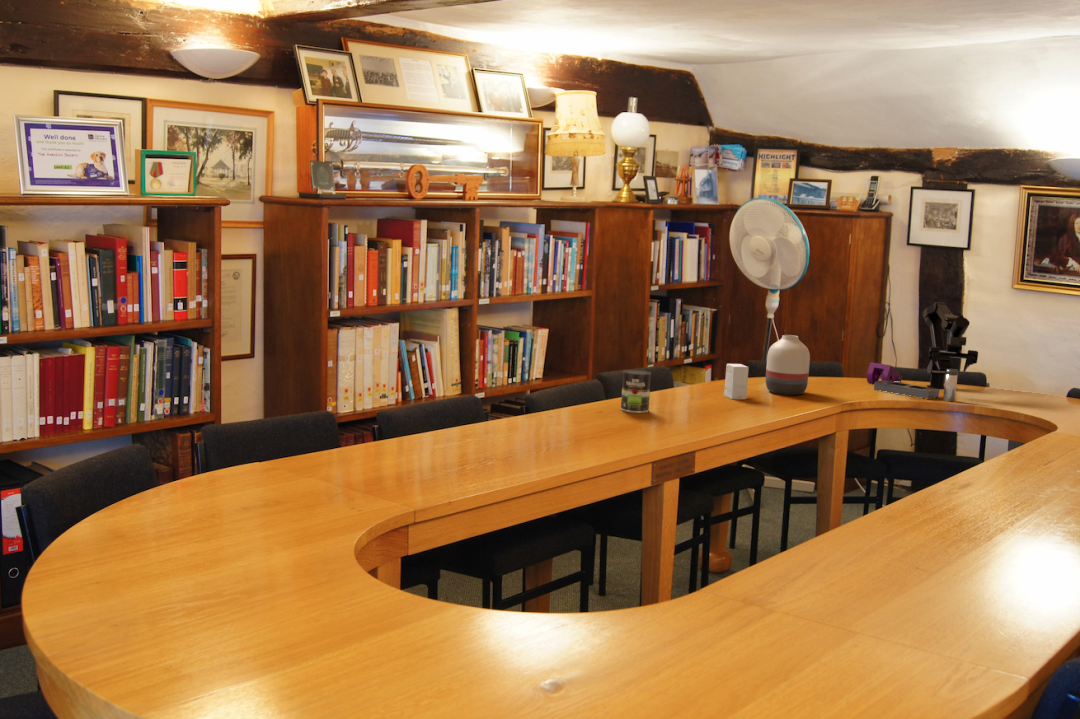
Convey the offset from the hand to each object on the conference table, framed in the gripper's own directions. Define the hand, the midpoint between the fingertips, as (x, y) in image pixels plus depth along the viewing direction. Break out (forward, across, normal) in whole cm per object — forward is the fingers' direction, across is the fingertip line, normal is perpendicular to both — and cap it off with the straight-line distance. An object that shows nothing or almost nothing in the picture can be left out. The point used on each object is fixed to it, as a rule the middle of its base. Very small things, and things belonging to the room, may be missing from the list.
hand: (951, 371), depth 394 cm
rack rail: (+7, -17, +9) cm, 20 cm away
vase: (+28, -63, -11) cm, 70 cm away
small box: (+45, -79, -28) cm, 95 cm away
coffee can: (+78, -106, -60) cm, 145 cm away
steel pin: (+12, 0, +5) cm, 13 cm away
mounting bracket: (-9, -26, +26) cm, 38 cm away
